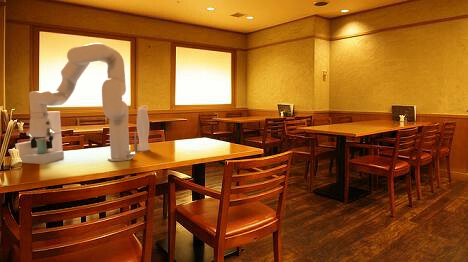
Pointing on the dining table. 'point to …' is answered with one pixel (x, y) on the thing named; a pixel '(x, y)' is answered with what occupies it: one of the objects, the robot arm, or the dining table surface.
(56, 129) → the cylindrical container
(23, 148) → the wall
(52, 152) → the socket block
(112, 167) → the dining table surface
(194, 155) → the dining table surface
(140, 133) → the white bottle
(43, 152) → the dowel
